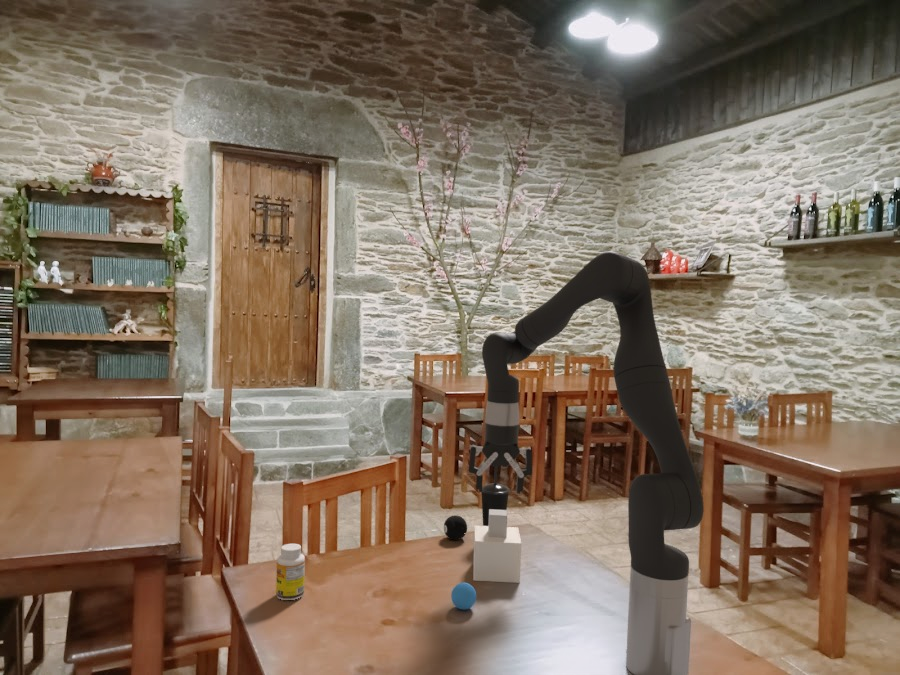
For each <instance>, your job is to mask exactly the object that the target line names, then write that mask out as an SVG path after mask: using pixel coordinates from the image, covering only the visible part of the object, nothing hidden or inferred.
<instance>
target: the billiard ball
mask: <svg viewBox="0 0 900 675" xmlns="http://www.w3.org/2000/svg"><path fill="white" fill-rule="evenodd" d="M443 531H444V534H445V535H446V537H447V538H448V537H449V538H448V539H450V540H454V541H458V540H461V539H462V538H464V537H465V536H466V534H467V533H468V532H467V531H468V525H467V522H466V519H464V518H463V516H459V515H451V516H449V517H447V519H445V521H444V524H443ZM464 533H466V534H464Z"/></svg>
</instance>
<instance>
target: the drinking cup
mask: <svg viewBox="0 0 900 675" xmlns="http://www.w3.org/2000/svg"><path fill="white" fill-rule="evenodd" d="M493 478H494V479H493V480H494V482H492V483H487V484H485V485H482V492H480V493H481V510H482V526H488V524H489V509H495V510H508V502H509V501H508V500H509V495H510V492H511V489H510V488H509V487H508V486H505V485H503V484H501V483H497V482H498V466H494V474H493Z"/></svg>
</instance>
